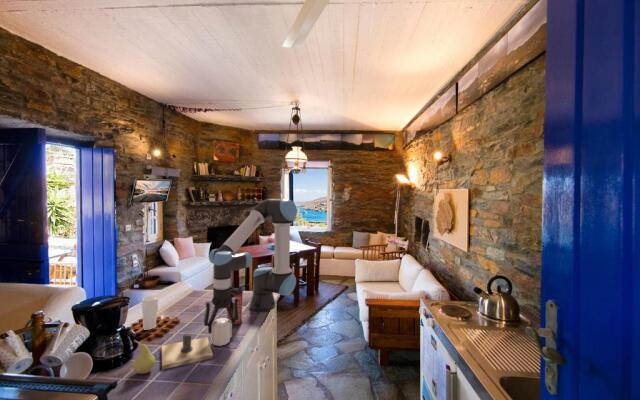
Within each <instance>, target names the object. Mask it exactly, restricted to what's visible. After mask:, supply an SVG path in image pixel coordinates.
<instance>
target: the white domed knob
mask: <svg viewBox="0 0 640 400" xmlns="http://www.w3.org/2000/svg"><path fill="white" fill-rule="evenodd" d="M213 326H214V333H213V341H211V342H212V344H213V345H214V346H219V347H221V346H224V345H225V346H226V345H227V344H228V343H230V340H231V337H230V320H229V319H227V318H226V317H220V318H217V319H214V321H213Z"/></svg>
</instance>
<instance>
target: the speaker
mask: <svg viewBox="0 0 640 400" xmlns="http://www.w3.org/2000/svg"><path fill="white" fill-rule="evenodd" d="M243 292H244V289H243V288H242V287H239V286H235V287H234V286H233V287H231V297H232V298H235V297H236V298H237V299H238V302H237V309H238V318H239V319H238V320H236V321H235V322H234V327H238V326H241V325H242V324H243V320H242V318H243ZM229 308H230V310H231V313H232V315H233V317H235V315H234V306H233V302H232V301H231V302H230V303H229ZM226 313H227V315H226V316H227V319H229V320H230V321H231V319H230V317H229V314H228V312H227V311H226ZM240 324H241V325H240Z"/></svg>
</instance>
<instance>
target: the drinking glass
mask: <svg viewBox="0 0 640 400" xmlns="http://www.w3.org/2000/svg"><path fill="white" fill-rule="evenodd" d="M158 310H159V297H158V296H157V295H149V296H145V297H143V298H142V300H141V312H142V313H141V315H142V330H143V329H144V330H148V329H152V328H155V327H156V328H157V320H158V319H157V316H158ZM156 328H155V329H156ZM144 330H143V331H144Z"/></svg>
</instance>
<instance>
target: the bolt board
mask: <svg viewBox="0 0 640 400" xmlns="http://www.w3.org/2000/svg"><path fill="white" fill-rule="evenodd" d="M208 338H209V337H208V336H205V337H201V338H196V339H192V334H191V333H186V334H183V335H182V341H180V342H179V341H178V342H174V343H168V344H164V345H161V370H162V371H163V370H167V369H170V368H176V367H178V366H179V367H180V366H183V365H188V364H193V363H196V362H201V361H202V362H203V361H205V360H211V359H213V357H214V354H213V351H212V348H211V345H210V342H209V339H208Z"/></svg>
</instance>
